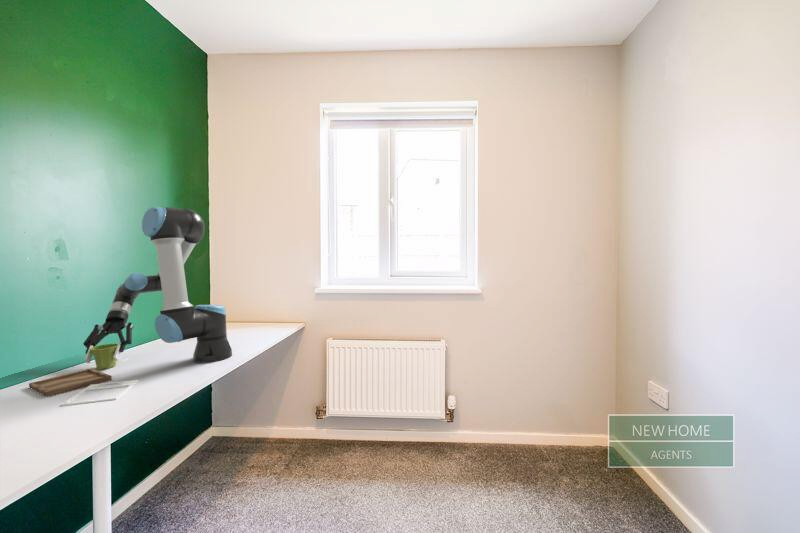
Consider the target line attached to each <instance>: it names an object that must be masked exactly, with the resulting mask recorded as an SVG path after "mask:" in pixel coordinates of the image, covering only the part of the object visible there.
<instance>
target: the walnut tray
mask: <svg viewBox="0 0 800 533" xmlns="http://www.w3.org/2000/svg"><path fill="white" fill-rule="evenodd" d="M112 379H113V378H112V375H110V374H108V373H105V372H102V371H99V370H96V369H94V368H89V369H84V370H80V371H76V372H72V373H67V374H63V375H60V376H59V375H58V376H55V377H54V376H53V377H50V378H46V379H41V380H38V381H33V382H30V383H28V387H30V388H29V389H31V388H32V389H33V391H34V390H35V392H36V391H37V393H38V392H39V394H40V393H41V394H40V395H42V394H43V395H42V396H44V395H45V396H44V397H46V396H47V397H46V398H49V397H48V396H50V397H53V396H52V395H54V396H56V394H58V395H60V393H61V394H64V392H65V393H68V391H69V392H73V391H77V390H79V389H85V388H87V386H90V385H92V384H98V383H99V384H102V382H103V383H107V382H110V381H112ZM109 380H110V381H109ZM32 389H31V390H32ZM72 390H73V391H72Z"/></svg>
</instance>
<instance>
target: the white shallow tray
mask: <svg viewBox="0 0 800 533" xmlns="http://www.w3.org/2000/svg"><path fill="white" fill-rule="evenodd" d="M136 382H137V383H138V382H139V379H132V380H122V381H111V382H103V383H99V384H92V385H90V386H88V387H84V388H83V389H82V390H80V391H79V392H77V393H76V394H74V395H73V396H71V397H70V398H69V399H67V400H65V401H63V402H62V403H61V404H60V407H66V405H67V406H75V405H83V404H84V405H85V404H91V403H92V404H93V403H98V402H99V403H101V402H110V401H116V400H118V399H119V398H120V397H121V396H122V395H124V394H125V393H126V392H127V391H129V390H130V389H131V388H132V387H133V386H134V385H136V384H137V383H136ZM135 383H136V384H135ZM127 386H128V387H127ZM118 387H119V388H125V389H123V390H122V391H121V392H119V394H117V395H116V396H115V397H110V398H109V397H108V398H102V399H101V398H100V399H93V400H92V399H91V400H84V401H83V400H82V401H74V402H72V401H73V400H74V399H76V398H78V397H79V396H80V395H82V394H83V393H85V392H90V391H99V390H109V389H116V388H118ZM129 388H130V389H129Z"/></svg>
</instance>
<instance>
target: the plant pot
mask: <svg viewBox="0 0 800 533" xmlns="http://www.w3.org/2000/svg"><path fill="white" fill-rule="evenodd" d="M117 346H118V343H107V344H106V343H105V344H101V345H96V346H95V347H92V348H90V350H92V353H93V360H94V362H95V366H96V369H97V370H104V369H111V368H114V367H116V365H117V361H116V360H115V359H114V358H113V357H114V354H115V351H116V348H117Z"/></svg>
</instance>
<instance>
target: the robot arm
mask: <svg viewBox="0 0 800 533" xmlns="http://www.w3.org/2000/svg"><path fill="white" fill-rule="evenodd" d="M205 226H206V225H205V221H204V220H203V217H202V216H201V215H200V214H199V213H198V212H197V211H195V210H192V209H189V208H179V207H177V208H176V207H167V206H166V207H164V206H153V207H149V208H148V209H146V211H145V212H144V214H143V216H142V221H141V230H142V232H143V235H144V236H146V237H148V238H150V242H151V244H153V245H154V246H155V249H156V255H157V264H158V272H157V274H155V275H145V274H144V273H141V272H133V273H131V274H130V275H129V276H128V277H126V279H125V280H124V282H123V283H122V284H120V285H119V286H118V288H117V289H116V292H115V295H114V298H113V301H112V303H111V305H110V307H109V309H108V313H107V315H106V318H105V321H104V323H103V324H101V325H100V324H95V325H94V328H93V330H92V331H91V332H90V334H89V335H88V336H87V338H86V339H85V341H84V342H83V343H82V345H83V346H84V347H85V348H86V349H85V358H84V361H85V362H86V363H87V364H90V363H91V361H92V358H93V357H94V355H93V353H92V350H90V348H92V347H95V346H98V345H99V343H100V342H101V341H102V340H103V339H104V338H105V337H108V336H109V335H112V334H117V336H118V338H119V342H120V343H119V342H118V343H117V344H118V346H117V348H116V351H115V354H114V357H113V358H114V359H115V360H116V362H117V361H119V360H120V357H121V354H122V353H124V351H125V349H126V348H125V347H126V346H128V345H131V344H132V343H133V338H132V337H133V334H132V333H133V328H134V324H133V323H132V322H128V319H129V316H130V314H131V310H132V307H133V305H134V302H135V300H136V299H137V297H138V296H139V295H140V294H143V293H144V294H145V293H152V292H153V293H154V292H161V294H162V299H163V300H162V302H163V305H162V307H161V308H160V309H159V311H160V314H159V315H157V316H156V317H155V318H154V320H155V321H154V328H155V331H156V334H157V335H158V338H160V339H161V341H163V342H164V343H168V344H172V343H180V342H183V341H186V340H191V339H196V343H195V344H196V345H195V348H194V351H193V357H192V358H193V362H196V363H211V362H218V361H222V360H223V361H224V360H226V359H229V358H230V357H232V356H233V350H232V347H231V345H230V342H229V340H228V335H227V317H226V316H227V314H226V308H225V306H223V305H219V304H197V305H195V306H194V304H192V303H191V302H189V297H188V289H187V281H186V272H185V264H186V262H187V260H188V258H189V256H190V255H191V254H192V251H193V250H194V248H195V247H196V245H197V244H199V243H200V242H201V241H202V239H203V238H204V234H205V231H206V227H205ZM127 322H128V323H127ZM125 328H126V330H125V333H126V334H125V335H126V336H125V337H126V338H125V337H124V334H123V331H122V330H124V329H125Z"/></svg>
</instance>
